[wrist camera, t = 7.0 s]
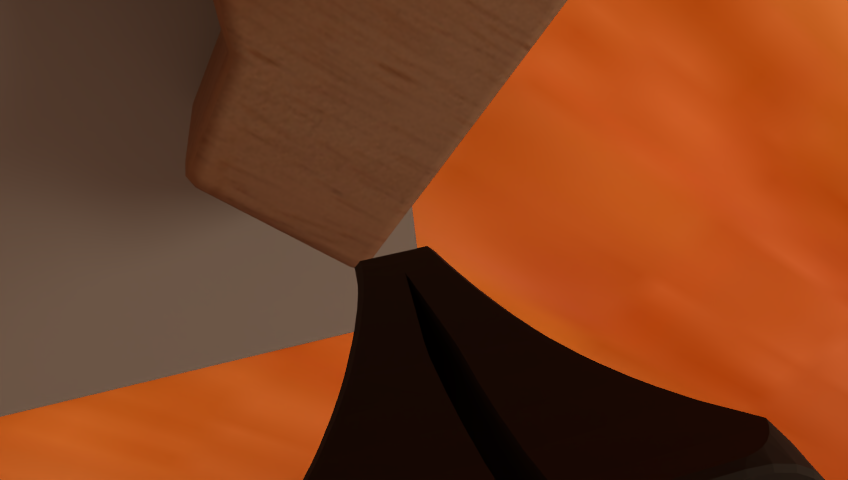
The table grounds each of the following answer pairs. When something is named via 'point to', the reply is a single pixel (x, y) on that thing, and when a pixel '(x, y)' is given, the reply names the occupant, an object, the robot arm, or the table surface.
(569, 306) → the table surface
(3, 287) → the mat
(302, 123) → the wooden block
